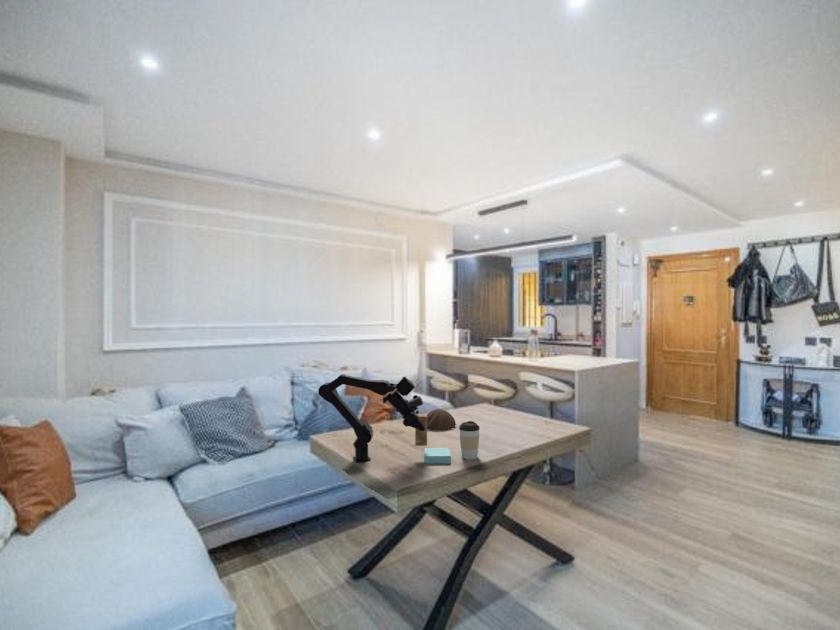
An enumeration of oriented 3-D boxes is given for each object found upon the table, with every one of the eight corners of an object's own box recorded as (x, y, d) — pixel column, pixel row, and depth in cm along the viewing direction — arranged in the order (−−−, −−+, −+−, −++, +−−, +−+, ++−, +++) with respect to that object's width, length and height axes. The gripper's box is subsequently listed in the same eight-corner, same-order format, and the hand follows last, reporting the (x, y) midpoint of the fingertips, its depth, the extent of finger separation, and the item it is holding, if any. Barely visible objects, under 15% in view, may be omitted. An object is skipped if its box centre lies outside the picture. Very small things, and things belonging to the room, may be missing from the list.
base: (424, 463, 176) (424, 456, 176) (424, 454, 187) (424, 448, 187) (450, 463, 176) (450, 456, 176) (449, 454, 187) (449, 447, 187)
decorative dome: (459, 430, 227) (458, 412, 227) (422, 431, 225) (422, 413, 225) (454, 421, 246) (453, 404, 246) (420, 422, 245) (420, 405, 245)
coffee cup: (477, 461, 178) (476, 426, 178) (456, 458, 181) (456, 424, 181) (482, 454, 186) (481, 421, 186) (462, 452, 190) (462, 419, 190)
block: (415, 445, 179) (415, 416, 179) (415, 442, 184) (415, 413, 184) (426, 445, 179) (426, 416, 179) (427, 442, 184) (427, 414, 184)
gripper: (411, 394, 172) (437, 421, 172) (413, 386, 191) (437, 411, 190) (392, 413, 172) (418, 440, 172) (396, 403, 191) (420, 428, 191)
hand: (424, 428), depth 181 cm, fingers closed on block, 5 cm apart
